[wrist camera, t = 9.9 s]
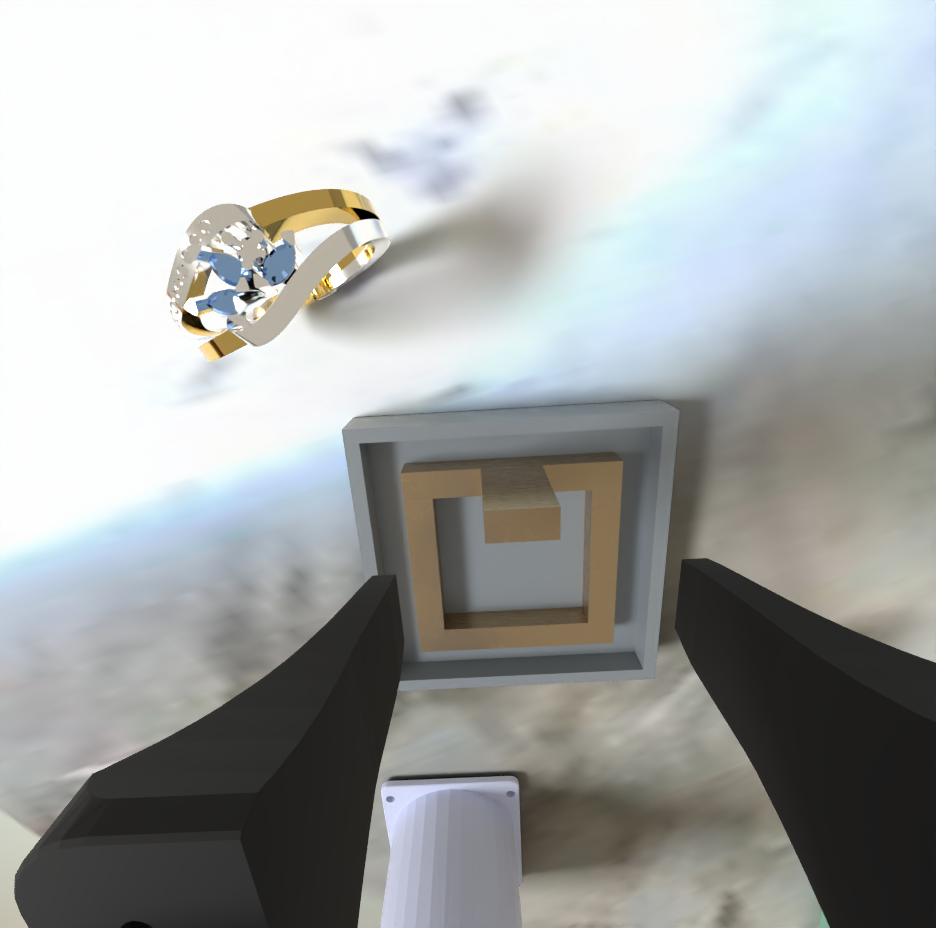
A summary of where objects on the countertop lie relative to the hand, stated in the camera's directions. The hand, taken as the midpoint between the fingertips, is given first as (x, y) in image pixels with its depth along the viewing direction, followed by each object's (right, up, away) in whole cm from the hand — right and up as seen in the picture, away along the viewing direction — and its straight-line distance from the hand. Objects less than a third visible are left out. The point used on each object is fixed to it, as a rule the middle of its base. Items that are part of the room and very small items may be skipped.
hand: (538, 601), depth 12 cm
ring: (-7, +11, +7) cm, 15 cm away
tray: (0, 0, +10) cm, 11 cm away
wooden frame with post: (0, -1, +10) cm, 10 cm away
